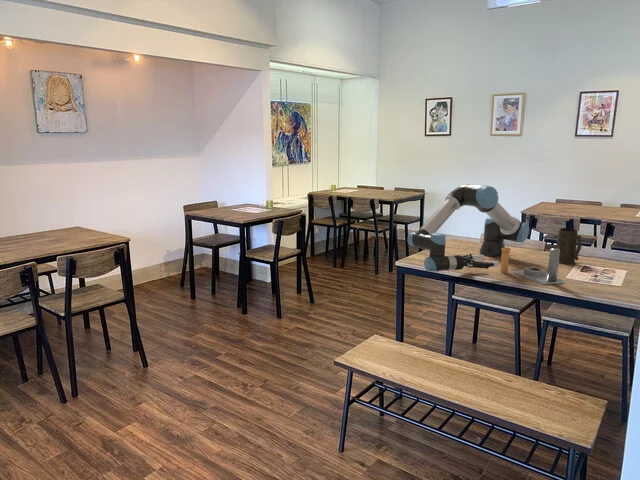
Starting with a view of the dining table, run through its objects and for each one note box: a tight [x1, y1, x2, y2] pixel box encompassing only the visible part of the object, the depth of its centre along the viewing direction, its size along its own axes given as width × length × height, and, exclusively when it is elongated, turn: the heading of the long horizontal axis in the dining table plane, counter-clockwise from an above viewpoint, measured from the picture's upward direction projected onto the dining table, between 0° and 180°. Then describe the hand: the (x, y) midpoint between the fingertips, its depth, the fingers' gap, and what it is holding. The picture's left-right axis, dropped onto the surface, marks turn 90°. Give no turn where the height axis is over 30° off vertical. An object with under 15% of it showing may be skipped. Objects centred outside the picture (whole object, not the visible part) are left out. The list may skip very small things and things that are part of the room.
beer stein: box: [555, 227, 583, 265], centre depth 266 cm, size 15×10×20 cm
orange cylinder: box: [500, 247, 511, 274], centre depth 247 cm, size 4×4×13 cm
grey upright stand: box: [514, 247, 565, 286], centre depth 237 cm, size 23×12×17 cm, turn 13°
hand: (490, 260), depth 245 cm, fingers open, 13 cm apart
